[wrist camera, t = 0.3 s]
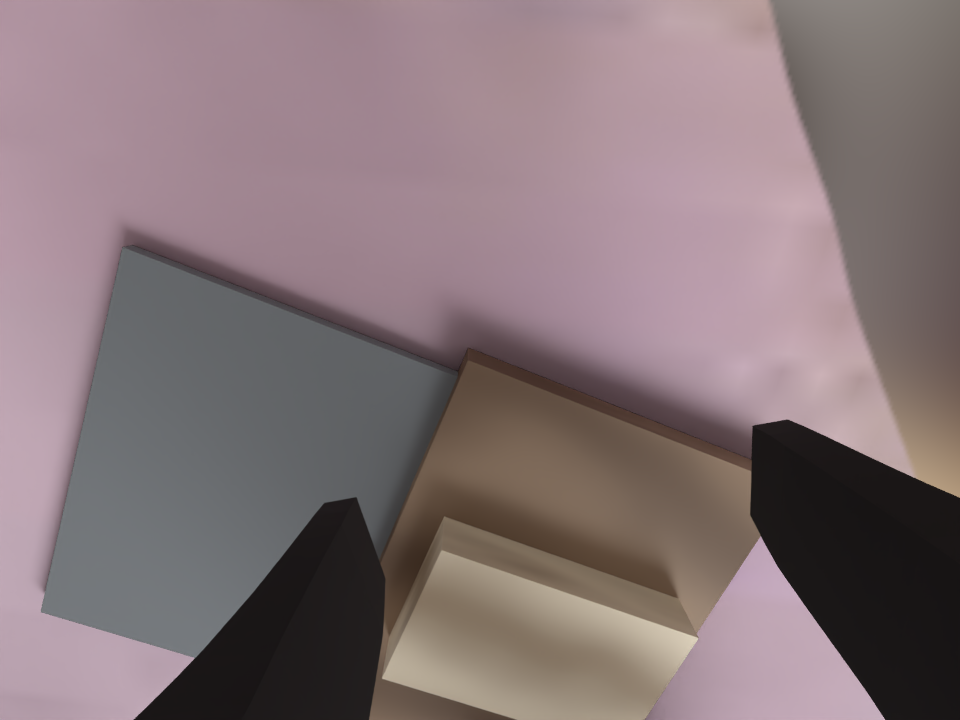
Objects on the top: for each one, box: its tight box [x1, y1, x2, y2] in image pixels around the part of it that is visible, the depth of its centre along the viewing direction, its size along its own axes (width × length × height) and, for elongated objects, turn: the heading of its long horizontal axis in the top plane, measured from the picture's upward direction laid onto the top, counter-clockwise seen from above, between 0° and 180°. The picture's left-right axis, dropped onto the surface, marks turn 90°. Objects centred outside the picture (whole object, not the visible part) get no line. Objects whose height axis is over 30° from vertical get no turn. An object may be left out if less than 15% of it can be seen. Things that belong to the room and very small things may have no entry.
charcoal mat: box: [41, 245, 458, 658], centre depth 22 cm, size 16×12×1 cm
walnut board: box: [369, 348, 761, 720], centre depth 23 cm, size 18×13×2 cm
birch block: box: [382, 517, 698, 720], centre depth 21 cm, size 6×10×2 cm, turn 67°
